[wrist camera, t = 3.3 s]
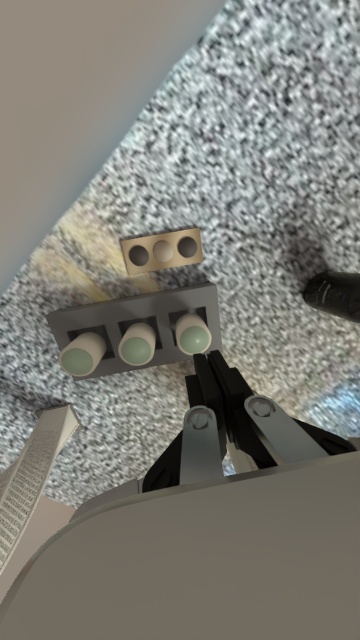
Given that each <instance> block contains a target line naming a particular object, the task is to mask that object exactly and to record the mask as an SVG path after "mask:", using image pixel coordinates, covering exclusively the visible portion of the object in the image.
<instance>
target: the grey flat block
mask: <svg viewBox="0 0 360 640" xmlns="http://www.w3.org/2000/svg"><path fill="white" fill-rule="evenodd" d="M185 314H196V315H198V316H200V317H201V318H202V320H203V321H204V323H205V324H206V326H207V328H208V329H209V331H210V333H211V337H212V340H211V344H210V346H209V347H208V349H207V350H206V351H205V352H203V353H201V354H202V355H203V354H205V356H207V354H209V353H210V351H213V350H219V351H220V353H221V354H222V353H223V351H222V340H221V330H220V319H219V308H218V298H217V287H216V285H215V284H213V283H211V282H209V283H203V284H198V285H192V286H187V287H181V288H176V289H170V290H164V291H159V292H153V293H148V294H142V295H136V296H131V297H125V298H120V299H114V300H108V301H103V302H97V303H92V304H86V305H80V306H75V307H69V308H64V309H58V310H56V311H54V312H52V313H50V314H48V315H45V317H46V319H47V321H48V324H49V326H50V328H51V330H52V332H53V335H54V337H55V339H56V341H57V344H58V346H59V348H60V350H61V351H62V350H63V349H64V348H65V347H67V346H68V345H69V344H70V343H71V342H72V341H73V340H75V339H76V338H77V337H78V336H79V335H80V334H82V333H85V332H93V333H96V334H98V335H100V336H101V337H102V338H103V339H104V340H105V342H106V345H107V349H106V352H105V354H104V356H103V357H102V359H101V360H100V362H99V363H98V365H97V366H96V368H95V370H94V371H93V372H92V373H90V374H89V375H86V376H73V375H72V377H73V379H74V381H79V380H84V379H89V378H95V377H100V376H105V375H111V374H116V373H121V372H126V371H132V370H137V369H142V368H148V367H153V366H158V365H164V364H169V363H174V362H180V361H185V360H190V359H193V355H188V354H185V353H184V352H182V351H181V350H180V349H179V347H178V345H177V339H176V332H175V325H176V322H177V320H178V319H179V318H180V317H181V316H183V315H185ZM135 323H145V324H148V325H149V326H151V327H152V328H153V329H154V331H155V334H156V341H155V350H154V355H153V357H152V359H151V360H150V361H149V362H148V363H146V364H144V365H140V366H133V365H130V364H127V363H126V362H124V361H123V360H122V359H121V357H120V355H119V352H118V347H119V344H120V342H121V340H122V338H123V336H124V335H125V333H126V331H127V329H128V328H129V327H130V326H131V325H133V324H135Z"/></svg>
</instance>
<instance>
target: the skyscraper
mask: <svg viewBox="0 0 360 640" xmlns="http://www.w3.org/2000/svg"><path fill="white" fill-rule="evenodd" d="M35 414H36V415H37V417H38V418H39V420H38V422H37V424H36V426H35V427H34V429H33V431H32V433H31V435H30V437H29V439H28V441H27V442H26V444H25V446H24V448H23V450H22V452H21V454H20V456H19V458H18V459H17V460H16V461H15V462H14V463H13V464H12V465H10V466H9V467H8V468H7V469H6V470H5V471H4V472H3V473H2V474H1V475H0V575H1V573H2V572H3V570H4V568H5V566H6V564H7V563H8V561H9V559H10V557H11V555H12V553H13V552H14V550H15V548H16V546H17V544H18V542H19V540H20V538H21V537H22V535H23V533H24V531H25V529H26V527H27V525H28V523H29V520H30V518H31V516H32V514H33V512H34V510H35V508H36V505H37V503H38V501H39V498H40V496H41V494H42V491H43V489H44V486H45V484H46V481H47V479H48V476H49V474H50V471H51V468H52V465H53V462H54V460H55V457H56V456H57V455H58V453H59V452H60V451H61V449H62V448H63V446H64V445H65V444H66V442H67V441H68V440H69V438H70V437H71V435H72V434H73V433H74V431H79V430H83V426H82V424H81V422H80V421H79V419H78V417H77V415H76V413H75V411H74V410H73V408H72V406H71V404H70V403H69V404H64V405H60V406H56V407H51V408H47V409H42V410H38V411H36V412H35Z"/></svg>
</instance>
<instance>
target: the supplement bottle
mask: <svg viewBox="0 0 360 640" xmlns="http://www.w3.org/2000/svg"><path fill="white" fill-rule="evenodd" d="M304 296H305V300H306V302H307V304H308V305H309V306H311V307H313V308H315V309H318V310H321V311H323V312H326V313H329V314H332V315H335V316H338V317H341V318H344V319H346V320H349V321H352V322H355V323H360V274H358V273H347V272H335V271H325V272H322V273H319V274H317V275H316V276H314V277H313V278H312V279H311V280H310V281H309V283H308V284H307V286H306V289H305V293H304Z"/></svg>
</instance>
